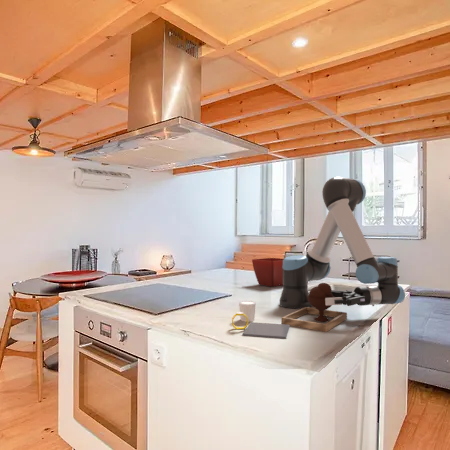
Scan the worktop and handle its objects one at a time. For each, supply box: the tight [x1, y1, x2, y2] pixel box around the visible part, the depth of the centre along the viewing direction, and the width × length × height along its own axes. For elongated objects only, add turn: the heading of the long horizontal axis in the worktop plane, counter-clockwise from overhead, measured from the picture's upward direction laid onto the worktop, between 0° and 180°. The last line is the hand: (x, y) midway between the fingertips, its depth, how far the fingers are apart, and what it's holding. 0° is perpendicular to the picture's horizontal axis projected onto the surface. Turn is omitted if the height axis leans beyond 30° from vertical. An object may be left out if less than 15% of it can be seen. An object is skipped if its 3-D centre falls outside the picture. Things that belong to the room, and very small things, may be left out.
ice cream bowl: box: [307, 282, 335, 323], centre depth 138 cm, size 11×11×15 cm
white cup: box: [238, 300, 256, 323], centre depth 140 cm, size 7×7×7 cm
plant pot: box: [251, 257, 284, 288], centre depth 225 cm, size 19×19×17 cm
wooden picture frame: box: [280, 307, 348, 333], centre depth 136 cm, size 18×22×2 cm
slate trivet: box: [241, 321, 291, 340], centre depth 124 cm, size 15×15×1 cm
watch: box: [231, 311, 249, 330], centre depth 127 cm, size 6×3×6 cm, turn 91°
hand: (317, 298), depth 137 cm, fingers open, 13 cm apart
